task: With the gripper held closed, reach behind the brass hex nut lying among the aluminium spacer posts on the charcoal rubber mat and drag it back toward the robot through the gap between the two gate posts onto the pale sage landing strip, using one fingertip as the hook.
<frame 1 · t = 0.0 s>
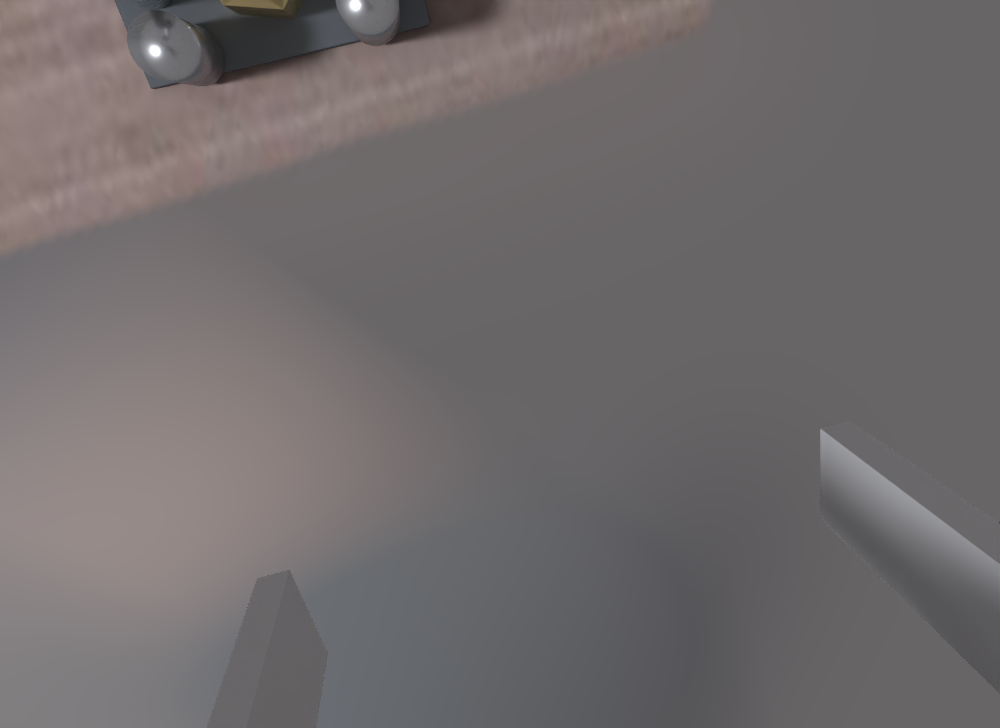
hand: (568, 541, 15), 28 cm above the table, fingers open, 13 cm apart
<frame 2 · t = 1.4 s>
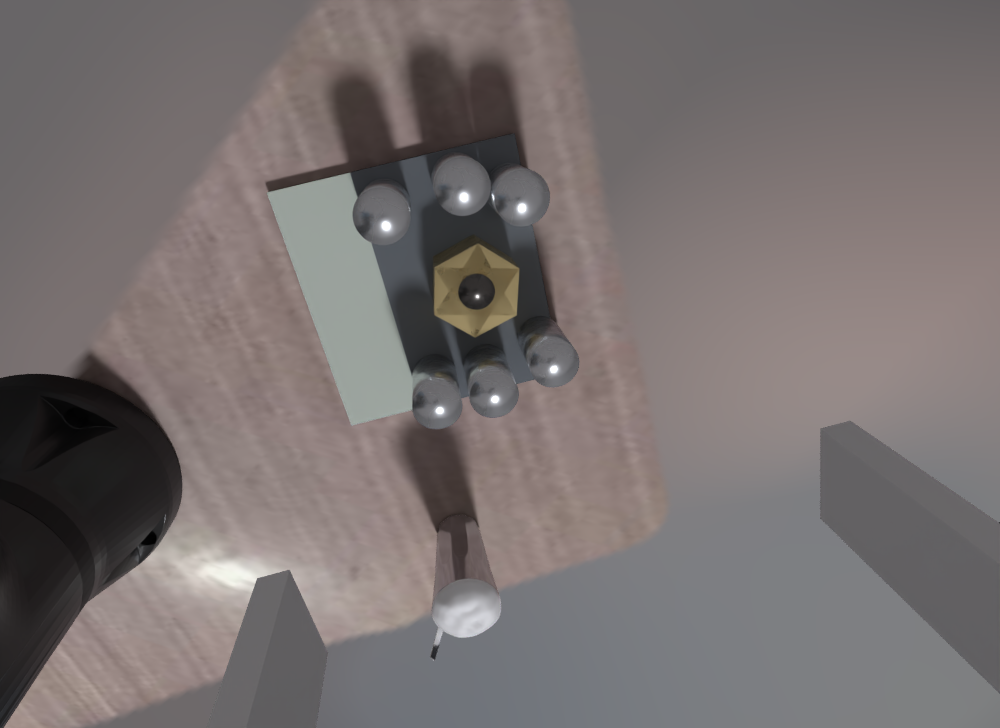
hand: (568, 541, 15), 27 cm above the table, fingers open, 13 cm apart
milkshake: (454, 532, 47), on the table
nut: (472, 279, 38), point 1 cm above the table, touching mat
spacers: (426, 288, 39), resting on mat
mat: (426, 288, 39), on the table
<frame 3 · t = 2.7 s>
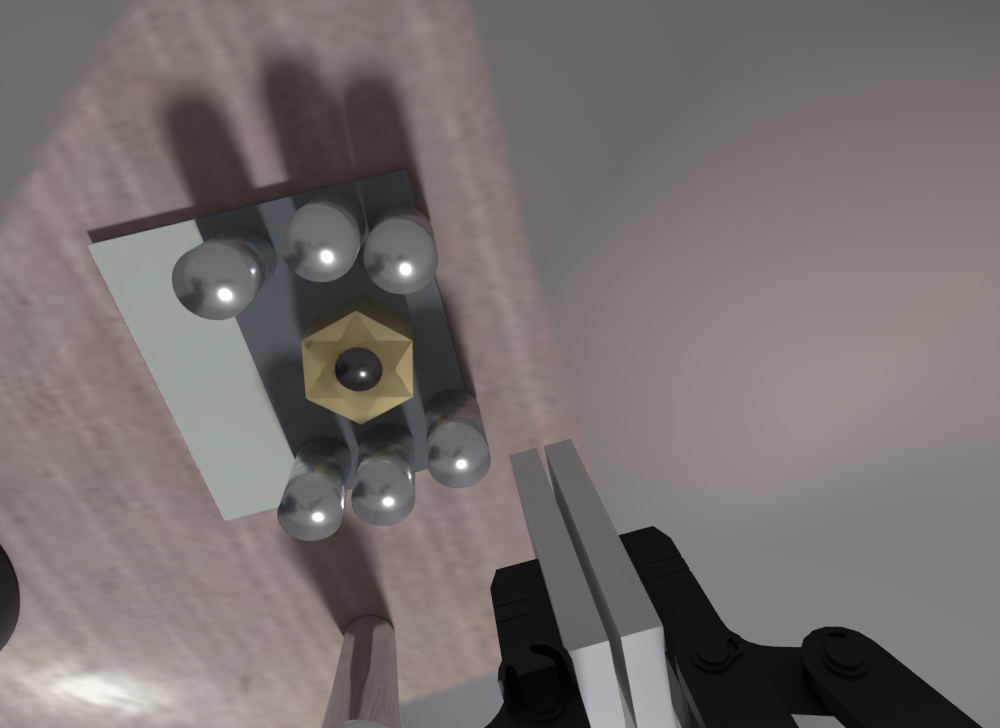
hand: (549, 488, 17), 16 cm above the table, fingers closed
milkshake: (365, 635, 39), on the table
nut: (363, 347, 31), point 1 cm above the table, touching mat
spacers: (308, 357, 31), resting on mat
mat: (308, 357, 31), on the table
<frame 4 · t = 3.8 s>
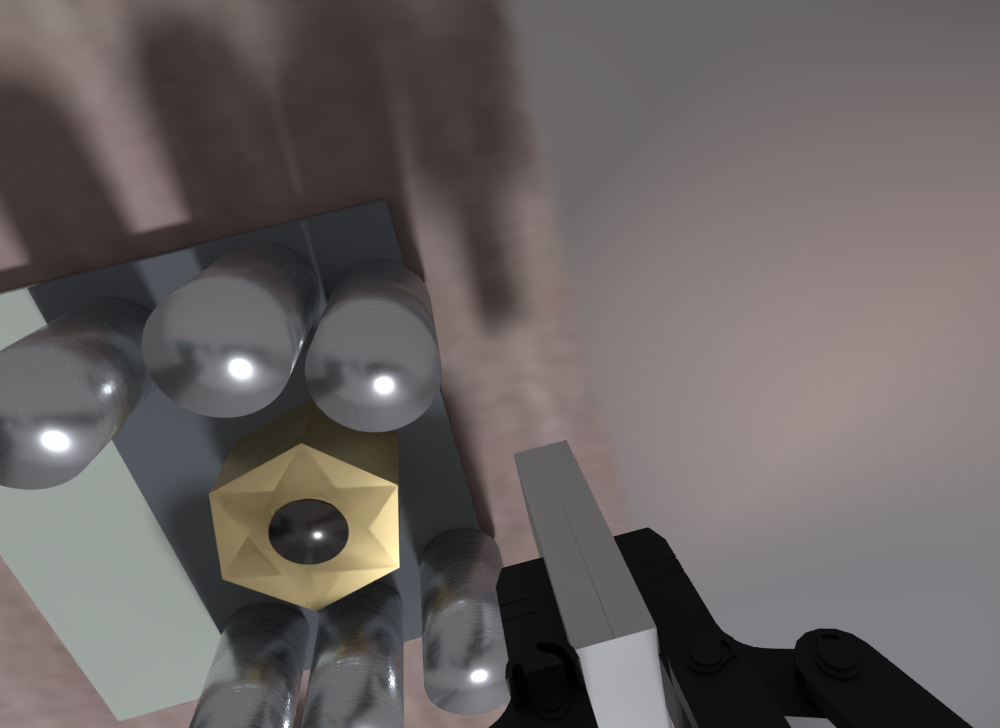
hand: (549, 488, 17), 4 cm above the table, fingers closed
nut: (322, 475, 20), point 1 cm above the table, touching mat
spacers: (237, 489, 20), resting on mat
mat: (237, 489, 20), on the table
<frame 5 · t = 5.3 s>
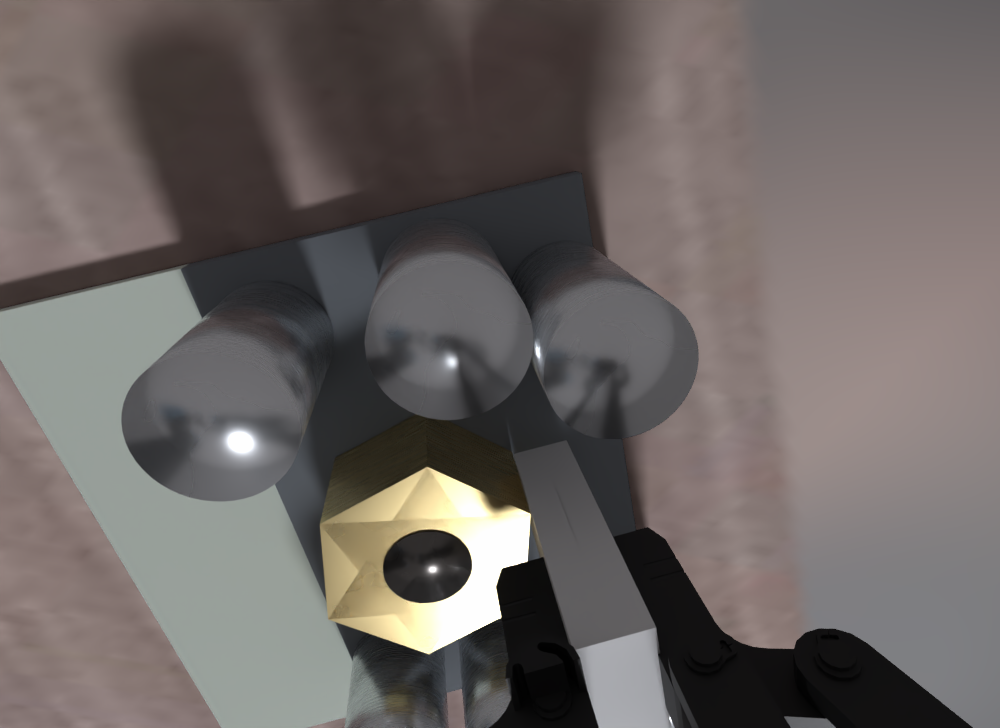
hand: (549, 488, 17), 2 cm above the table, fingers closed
nut: (425, 497, 18), point 1 cm above the table
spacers: (379, 497, 18), resting on mat
mat: (379, 497, 18), on the table
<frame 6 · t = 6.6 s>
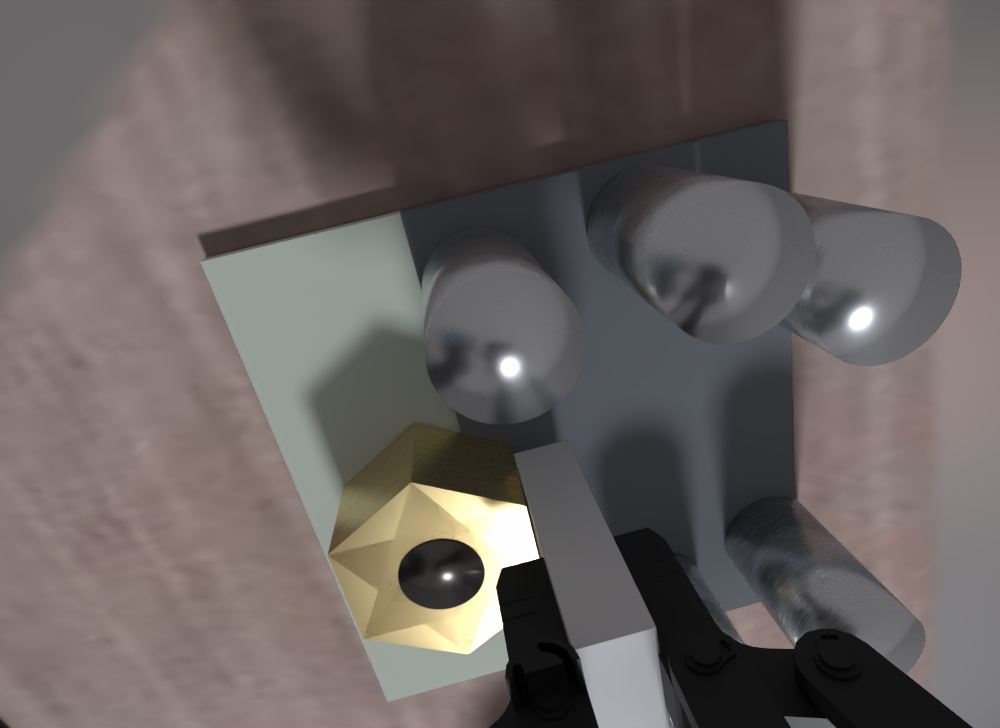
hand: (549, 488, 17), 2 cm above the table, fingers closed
nut: (440, 504, 18), point 1 cm above the table, touching mat
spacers: (551, 448, 18), resting on mat
mat: (551, 448, 18), on the table
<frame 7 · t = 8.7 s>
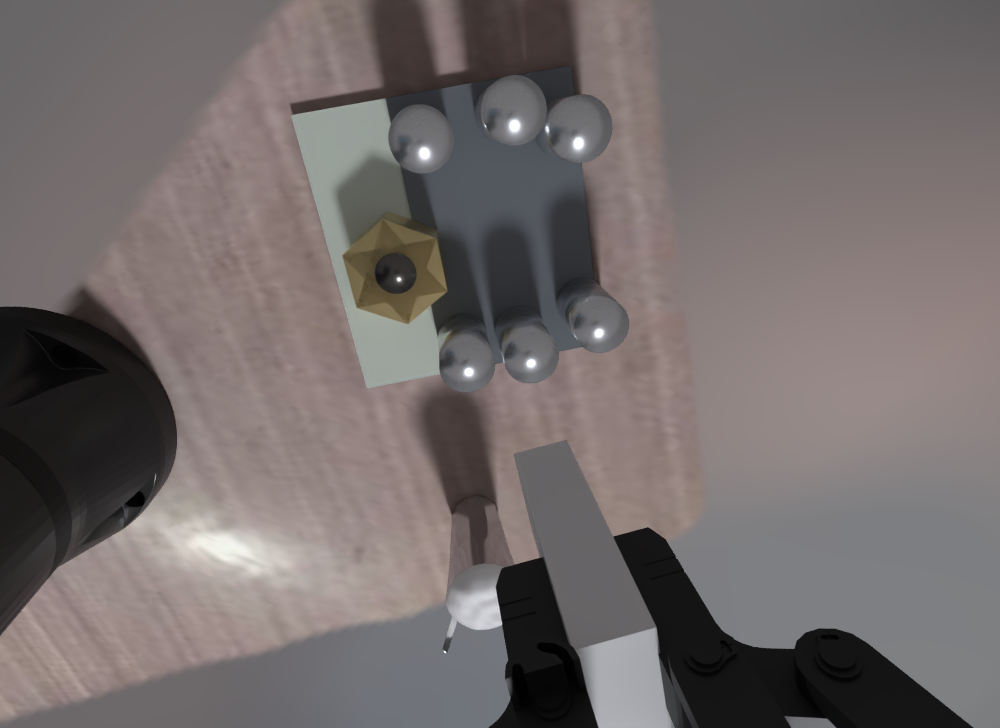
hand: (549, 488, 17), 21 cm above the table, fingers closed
milkshake: (470, 515, 43), on the table
nut: (399, 261, 35), point 1 cm above the table, touching mat
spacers: (460, 238, 35), resting on mat
mat: (460, 238, 35), on the table
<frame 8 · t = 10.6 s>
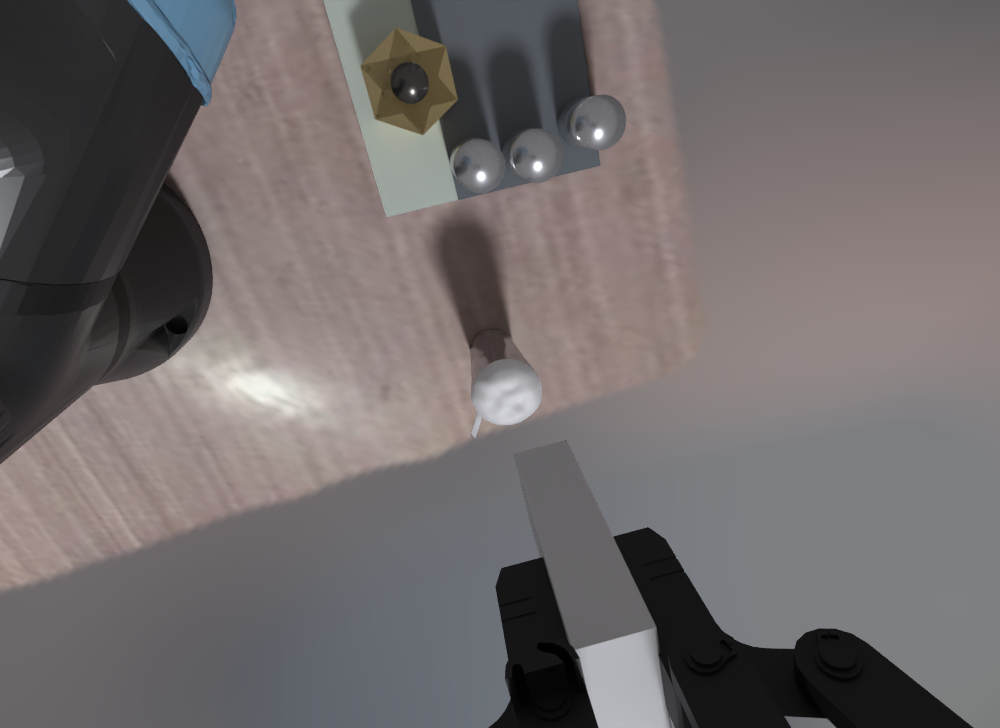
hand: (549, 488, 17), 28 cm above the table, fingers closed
milkshake: (487, 350, 46), on the table
nut: (411, 85, 37), point 1 cm above the table, touching mat
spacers: (465, 63, 38), resting on mat
mat: (465, 63, 38), on the table
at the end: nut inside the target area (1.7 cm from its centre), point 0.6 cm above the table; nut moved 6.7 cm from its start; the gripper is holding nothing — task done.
